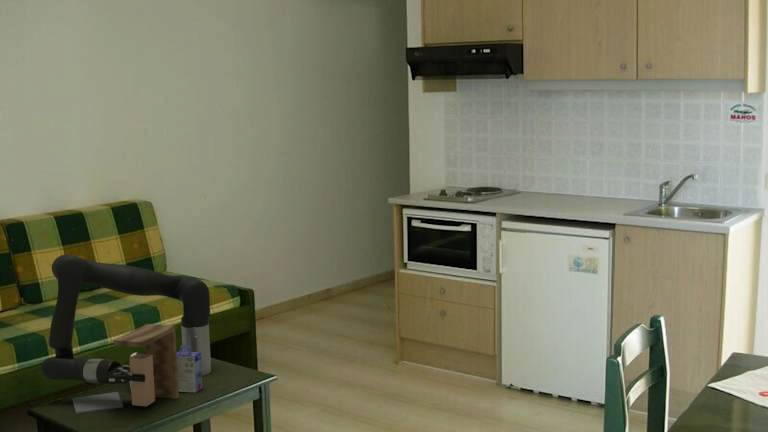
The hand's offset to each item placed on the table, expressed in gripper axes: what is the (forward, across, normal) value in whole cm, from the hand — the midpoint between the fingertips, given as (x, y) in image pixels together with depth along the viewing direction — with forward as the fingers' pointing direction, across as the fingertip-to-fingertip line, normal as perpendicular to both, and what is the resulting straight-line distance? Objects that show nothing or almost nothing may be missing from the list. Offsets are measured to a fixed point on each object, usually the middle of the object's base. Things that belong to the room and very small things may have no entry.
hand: (149, 375), depth 283 cm
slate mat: (-19, 0, +10) cm, 22 cm away
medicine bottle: (-13, +16, +11) cm, 23 cm away
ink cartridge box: (+2, +18, +11) cm, 21 cm away
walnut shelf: (-2, +1, +11) cm, 11 cm away
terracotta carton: (-3, 0, +9) cm, 9 cm away
